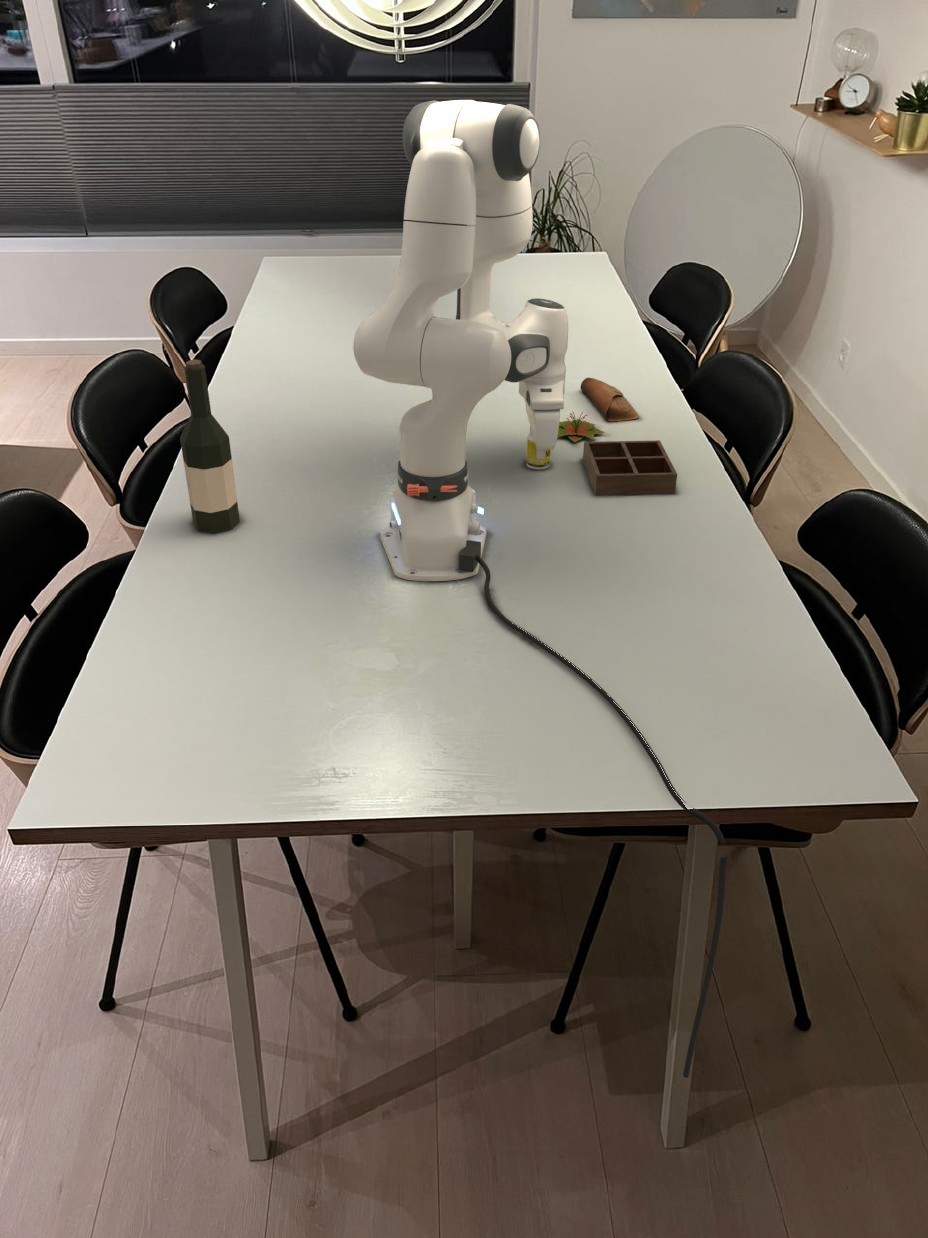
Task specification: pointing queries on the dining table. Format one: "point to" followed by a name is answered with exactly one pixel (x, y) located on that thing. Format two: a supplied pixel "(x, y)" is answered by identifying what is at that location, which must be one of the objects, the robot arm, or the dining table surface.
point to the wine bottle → (207, 460)
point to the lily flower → (577, 429)
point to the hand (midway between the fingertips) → (538, 450)
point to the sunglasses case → (608, 400)
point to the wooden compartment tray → (629, 468)
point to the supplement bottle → (531, 455)
